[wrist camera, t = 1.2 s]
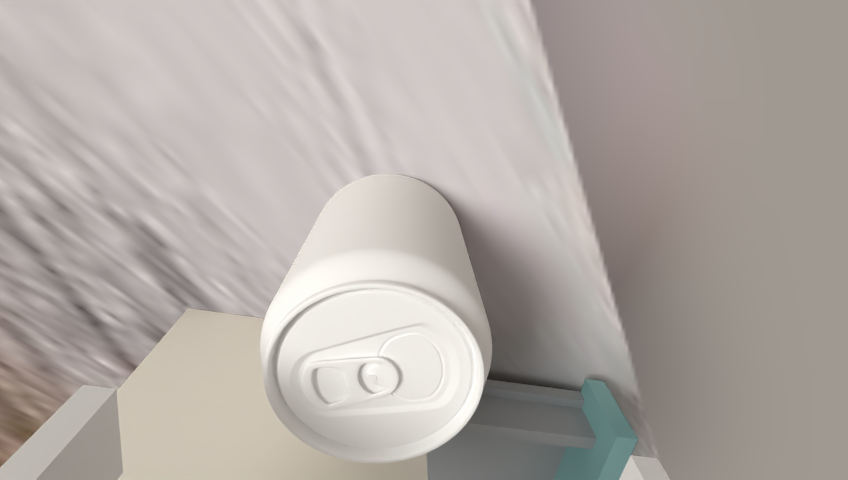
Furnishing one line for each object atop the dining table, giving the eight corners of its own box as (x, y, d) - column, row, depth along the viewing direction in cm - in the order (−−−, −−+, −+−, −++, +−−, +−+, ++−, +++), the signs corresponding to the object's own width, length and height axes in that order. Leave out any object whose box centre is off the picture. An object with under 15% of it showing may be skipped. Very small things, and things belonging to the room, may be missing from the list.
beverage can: (469, 290, 27) (512, 454, 16) (336, 313, 27) (288, 490, 16) (448, 157, 24) (483, 247, 13) (299, 185, 24) (208, 295, 13)
